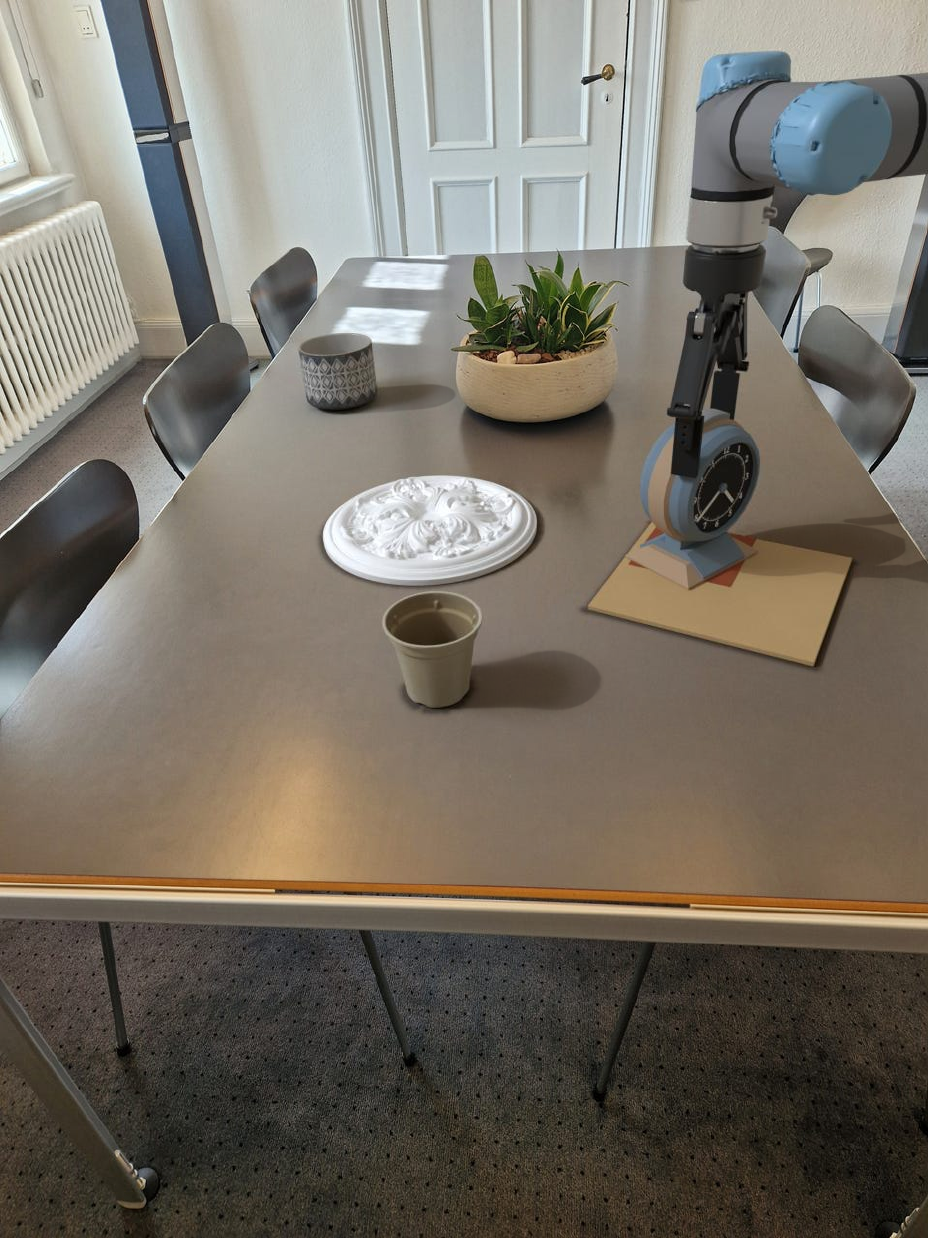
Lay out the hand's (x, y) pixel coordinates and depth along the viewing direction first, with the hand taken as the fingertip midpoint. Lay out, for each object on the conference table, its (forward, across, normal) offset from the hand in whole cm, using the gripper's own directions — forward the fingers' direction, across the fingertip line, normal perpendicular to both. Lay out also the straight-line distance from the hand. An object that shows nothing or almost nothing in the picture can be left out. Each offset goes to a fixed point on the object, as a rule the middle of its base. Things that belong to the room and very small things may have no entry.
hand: (703, 450), depth 94 cm
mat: (+14, -4, -5) cm, 15 cm away
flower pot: (+14, -34, +15) cm, 40 cm away
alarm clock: (+14, 0, 0) cm, 14 cm away
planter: (+14, +28, +72) cm, 79 cm away
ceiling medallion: (+14, -6, +33) cm, 36 cm away
